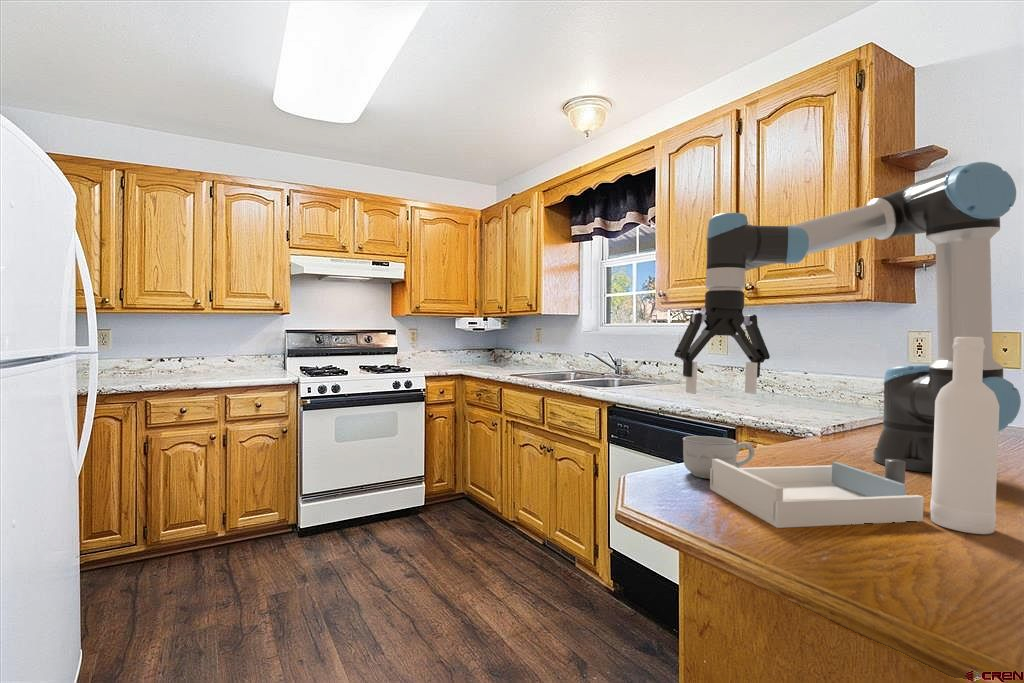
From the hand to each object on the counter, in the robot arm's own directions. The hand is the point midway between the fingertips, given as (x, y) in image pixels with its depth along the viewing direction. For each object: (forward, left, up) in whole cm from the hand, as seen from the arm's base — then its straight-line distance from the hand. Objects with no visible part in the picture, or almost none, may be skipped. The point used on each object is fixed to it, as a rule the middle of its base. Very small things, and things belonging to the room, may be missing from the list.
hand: (721, 393), depth 110 cm
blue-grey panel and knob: (-22, +17, -16) cm, 32 cm away
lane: (-11, +17, -18) cm, 27 cm away
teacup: (0, -1, -18) cm, 18 cm away
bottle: (-24, +30, -18) cm, 42 cm away
